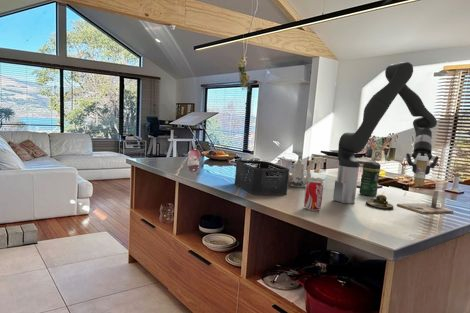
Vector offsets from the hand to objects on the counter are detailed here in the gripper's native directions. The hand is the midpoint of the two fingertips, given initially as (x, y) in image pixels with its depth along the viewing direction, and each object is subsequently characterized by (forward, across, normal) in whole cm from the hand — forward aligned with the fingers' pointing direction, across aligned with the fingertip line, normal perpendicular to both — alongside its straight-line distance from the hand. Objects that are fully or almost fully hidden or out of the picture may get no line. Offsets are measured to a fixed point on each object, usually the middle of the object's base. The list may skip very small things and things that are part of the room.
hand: (420, 172), depth 150 cm
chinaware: (+1, -60, +25) cm, 65 cm away
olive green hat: (+17, -15, +8) cm, 24 cm away
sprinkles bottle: (+3, 0, +6) cm, 6 cm away
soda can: (+38, -40, -13) cm, 57 cm away
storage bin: (+23, -73, +3) cm, 76 cm away
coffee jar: (-3, -22, +28) cm, 36 cm away
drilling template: (+8, +4, +17) cm, 19 cm away
